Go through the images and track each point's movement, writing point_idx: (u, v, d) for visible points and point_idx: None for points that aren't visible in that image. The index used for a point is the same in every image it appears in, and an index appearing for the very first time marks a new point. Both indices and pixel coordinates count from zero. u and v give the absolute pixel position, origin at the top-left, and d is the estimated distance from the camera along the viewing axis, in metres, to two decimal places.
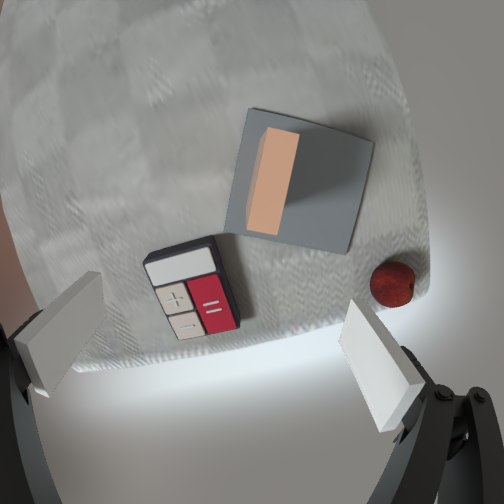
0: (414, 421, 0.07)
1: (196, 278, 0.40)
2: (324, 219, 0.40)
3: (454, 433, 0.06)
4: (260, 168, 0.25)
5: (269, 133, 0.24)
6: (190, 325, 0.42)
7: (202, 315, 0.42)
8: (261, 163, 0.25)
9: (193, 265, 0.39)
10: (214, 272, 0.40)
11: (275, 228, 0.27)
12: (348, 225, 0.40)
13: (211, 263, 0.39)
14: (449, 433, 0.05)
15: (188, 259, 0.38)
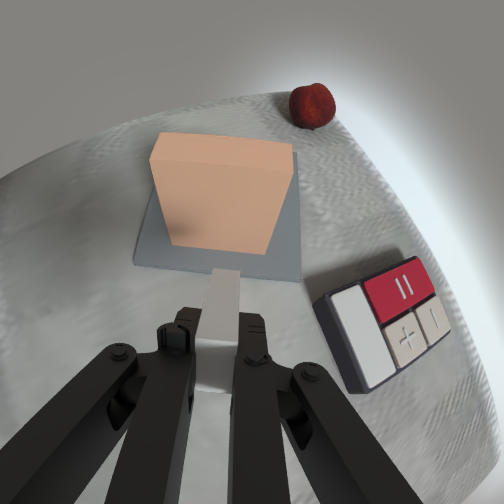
0: None
1: (374, 310, 0.26)
2: None
3: (284, 411, 0.08)
4: (205, 162, 0.18)
5: (157, 157, 0.18)
6: (432, 315, 0.26)
7: (417, 299, 0.27)
8: (198, 161, 0.18)
9: (359, 315, 0.25)
10: (361, 288, 0.27)
11: (283, 145, 0.20)
12: None
13: (351, 290, 0.26)
14: (275, 399, 0.07)
15: (352, 322, 0.25)
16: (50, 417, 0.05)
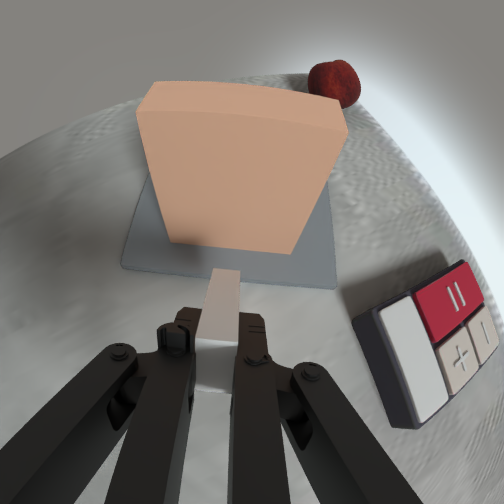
0: None
1: (427, 327, 0.19)
2: None
3: (284, 411, 0.08)
4: (219, 112, 0.11)
5: (148, 108, 0.11)
6: (483, 328, 0.19)
7: (468, 311, 0.20)
8: (209, 111, 0.11)
9: (411, 334, 0.18)
10: (412, 299, 0.20)
11: (328, 100, 0.13)
12: None
13: (402, 303, 0.19)
14: (275, 399, 0.07)
15: (404, 344, 0.18)
16: (50, 417, 0.05)
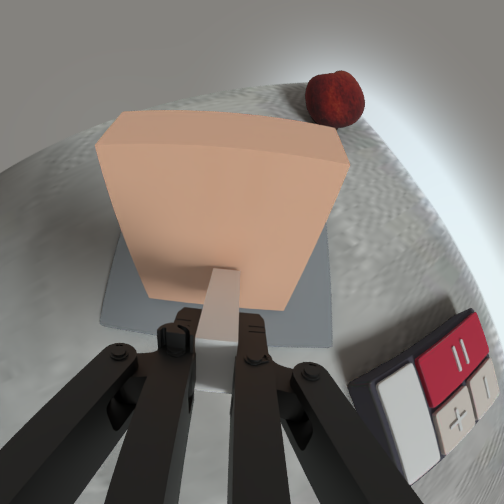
0: None
1: (427, 393, 0.16)
2: None
3: (284, 411, 0.08)
4: (191, 143, 0.09)
5: (109, 141, 0.09)
6: (484, 383, 0.16)
7: (472, 368, 0.17)
8: (178, 144, 0.09)
9: (409, 404, 0.15)
10: (414, 365, 0.17)
11: (323, 128, 0.11)
12: None
13: (402, 372, 0.17)
14: (275, 399, 0.07)
15: (400, 415, 0.15)
16: (50, 417, 0.05)
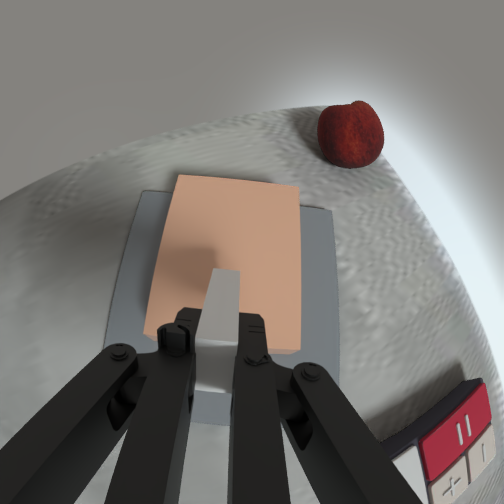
0: None
1: (426, 469, 0.13)
2: None
3: (284, 411, 0.08)
4: (226, 179, 0.22)
5: (185, 176, 0.22)
6: (482, 449, 0.13)
7: (472, 439, 0.14)
8: (220, 178, 0.22)
9: None
10: (417, 446, 0.14)
11: None
12: None
13: (405, 456, 0.14)
14: (275, 399, 0.07)
15: None
16: (50, 417, 0.05)
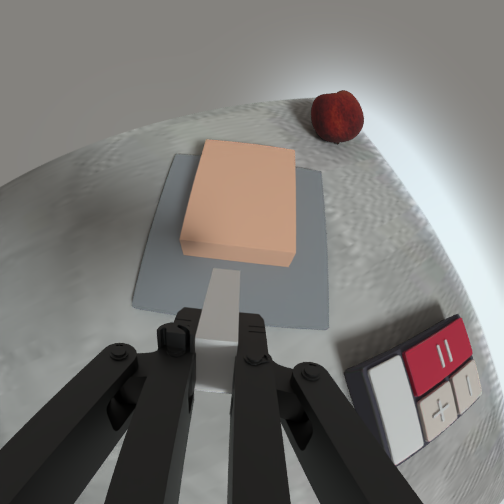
0: None
1: (412, 383, 0.20)
2: None
3: (284, 411, 0.08)
4: (241, 143, 0.29)
5: (211, 141, 0.29)
6: (467, 381, 0.20)
7: (455, 366, 0.20)
8: (237, 143, 0.29)
9: (395, 390, 0.19)
10: (401, 357, 0.21)
11: None
12: None
13: (391, 362, 0.20)
14: (275, 399, 0.07)
15: (388, 399, 0.19)
16: (50, 417, 0.05)
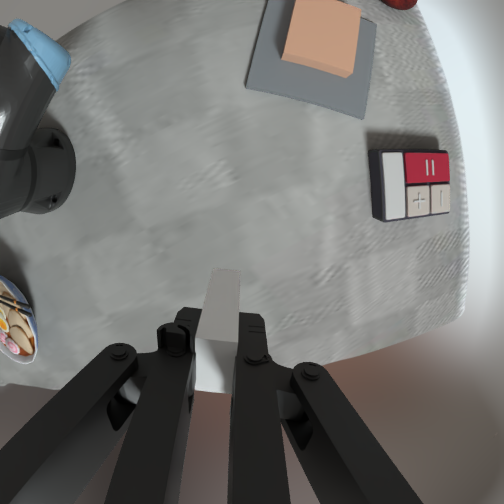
0: None
1: (405, 173, 0.36)
2: None
3: (284, 411, 0.08)
4: None
5: None
6: (440, 195, 0.37)
7: (435, 179, 0.36)
8: None
9: (395, 171, 0.36)
10: (402, 155, 0.35)
11: None
12: None
13: (396, 154, 0.35)
14: (275, 399, 0.07)
15: (389, 174, 0.36)
16: (50, 417, 0.05)
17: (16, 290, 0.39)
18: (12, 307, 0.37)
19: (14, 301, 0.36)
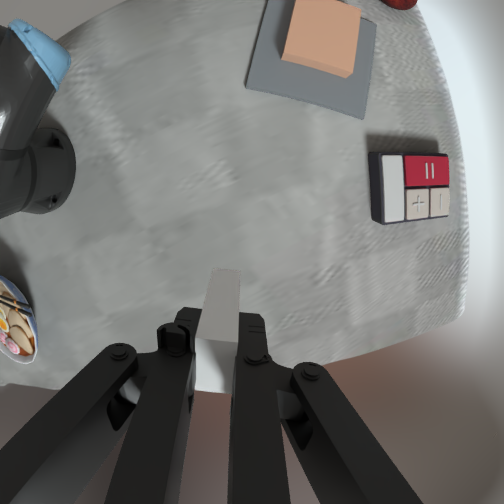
0: None
1: (405, 176, 0.36)
2: None
3: (284, 411, 0.08)
4: None
5: None
6: (440, 198, 0.37)
7: (434, 183, 0.37)
8: None
9: (394, 174, 0.36)
10: (402, 158, 0.36)
11: None
12: None
13: (395, 157, 0.35)
14: (275, 399, 0.07)
15: (389, 177, 0.36)
16: (50, 417, 0.05)
17: (16, 290, 0.39)
18: (12, 307, 0.37)
19: (14, 301, 0.36)
